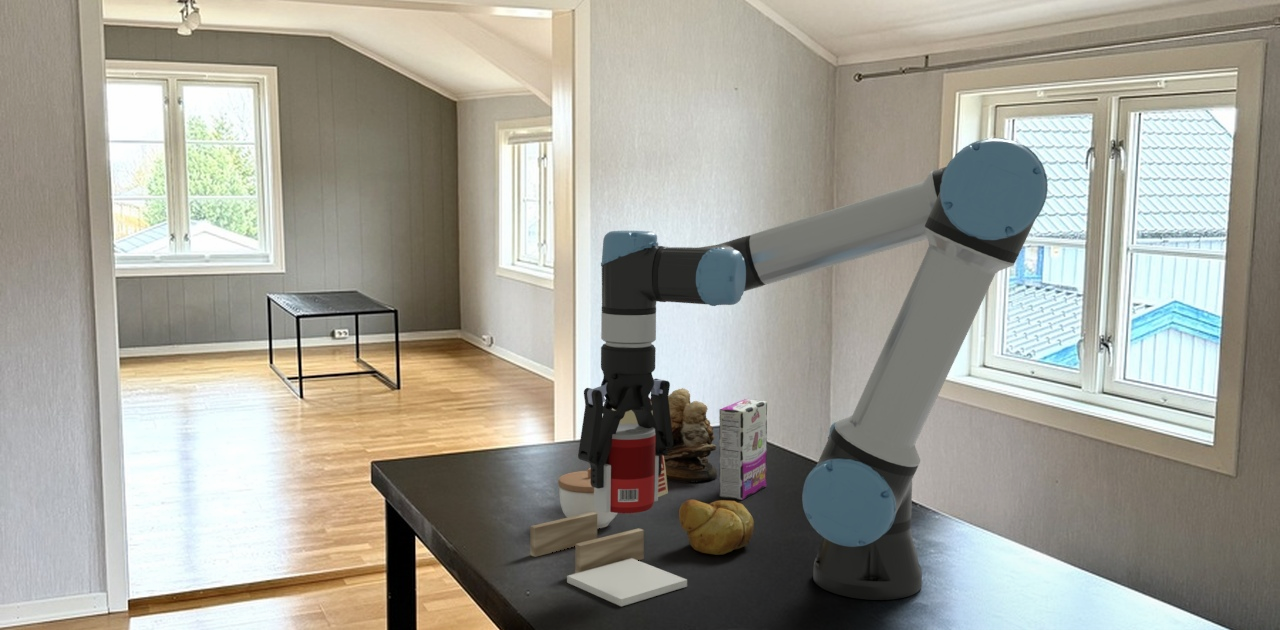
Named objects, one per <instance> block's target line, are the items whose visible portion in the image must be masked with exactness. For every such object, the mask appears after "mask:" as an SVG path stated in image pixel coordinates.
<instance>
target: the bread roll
mask: <svg viewBox="0 0 1280 630" xmlns="http://www.w3.org/2000/svg"><path fill="white" fill-rule="evenodd" d="M678 519H679V523H680V525H681V526H680V527H681V528H682V530H684V531H685V532H686V535H687V537H688V540H689V545H690V546H691V547H692V548H693V550H695V551H696V552H700V553H702V554H708V555H716V556H719V555H726V554H727V553H731V552H732V551H733V550H739V549H742V548H743V547H745V546H748V544H749V543H750V541H751V538H752V536H753V534H754V524H755V522H754V518H753V515H751V513H750V512H749V510H748V509H747V508H746V507H745V505H744V504H743V503H740V502H737V501H735V500H724V499H723V500H722V499H721V500H714V501H712V502H710V503H706V502H702V501H699V500H696V499H692V498H690V499H687V500H685V501H684V502H682V503H681V505H680V507H679V510H678Z"/></svg>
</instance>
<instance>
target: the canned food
mask: <svg viewBox="0 0 1280 630" xmlns="http://www.w3.org/2000/svg"><path fill="white" fill-rule="evenodd" d="M655 435H656V434H655V429H654V428H653V427H652V428H650V429H649V428H644V427H641V426H639V425H638V424H619V425H618V428H617V431H616V434H613V435H612V446H611V449H610V452H609V455H608V458H607V461H606V464H609V465H611V506H610V512H614V513H617V514H637V513H643V512H646V511H649V510H651V509H652V508H653V506H654V503H655V502H654V495H655V445H656V441H655Z"/></svg>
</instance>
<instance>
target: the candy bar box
mask: <svg viewBox="0 0 1280 630" xmlns="http://www.w3.org/2000/svg"><path fill="white" fill-rule="evenodd" d="M767 425H768V401H767V400H761V399H760V400H759V399H750V398H746V399H745V398H744V399H742V400H740V401H739V400H738V401H737V402H734V403H732V404H729V405H728V406H725V407H721V408H719V497H721V498H725V499H730V500H731V499H733V500H740V501H743V500H745V499H746V498H749V497H751V496H752V495H754V494H755V493H757V492H759V491H761V490H763V489H764V488H765V487H767V486H768V485H767V476H768V475H767V472H768V471H767V464H768V463H767V455H768V454H767V452H768V451H767V450H768V449H767V448H768V447H767V442H768V431H767V429H768V426H767Z"/></svg>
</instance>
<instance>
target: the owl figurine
mask: <svg viewBox="0 0 1280 630" xmlns="http://www.w3.org/2000/svg"><path fill="white" fill-rule="evenodd" d="M668 400H669V409H670V417H671V426H672V435H673V447H672V448H667V449H668V452H667V454H666V455H665V456H664V461H665V468H666V478H667V481H671V482H672V481H673V482H678V483H688V484H689V483H693V482H694V483H699V482H703V481H708V480H711V481H712V480H716V479H717V477H718V470H717V468H715V467H714V466H713V465H712V464H711V462H709V459H708V458H707V457H709V456H710V455H711V453H712V452H713V451H716V450H717V445H716V444H713V441H714V439H715V436H714V432H713V430H714V427H713V426H712V425H711V421H710V419H708V418H707V412H708V406H707V404H705V403H703V402H701V401H698V400H695V401H692V402H691V394H690V392H689V390H688V389H686V388H684V387H682V388H678V389H676V390H675V389H674V390H673V391H672V392H671V393H670V394H669V395H668Z"/></svg>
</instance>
